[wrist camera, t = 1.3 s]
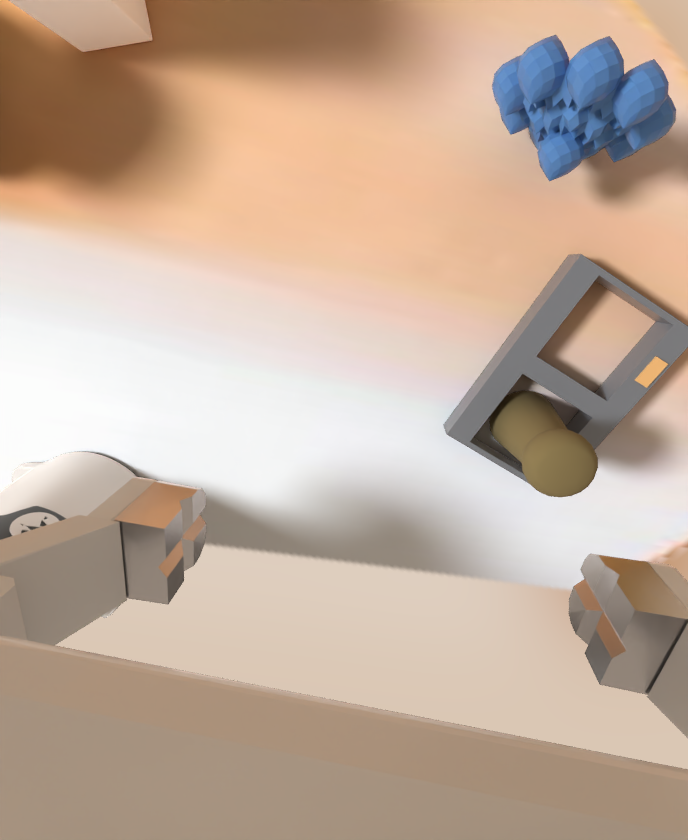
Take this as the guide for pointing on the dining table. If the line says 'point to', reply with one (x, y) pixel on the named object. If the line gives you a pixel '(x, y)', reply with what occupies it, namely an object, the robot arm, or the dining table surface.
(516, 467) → the panel
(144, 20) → the milk
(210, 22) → the dining table surface
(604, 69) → the grapes
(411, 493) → the dining table surface
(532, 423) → the cork
